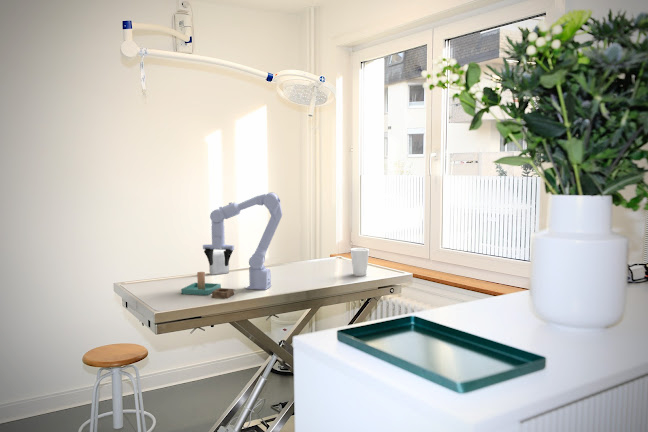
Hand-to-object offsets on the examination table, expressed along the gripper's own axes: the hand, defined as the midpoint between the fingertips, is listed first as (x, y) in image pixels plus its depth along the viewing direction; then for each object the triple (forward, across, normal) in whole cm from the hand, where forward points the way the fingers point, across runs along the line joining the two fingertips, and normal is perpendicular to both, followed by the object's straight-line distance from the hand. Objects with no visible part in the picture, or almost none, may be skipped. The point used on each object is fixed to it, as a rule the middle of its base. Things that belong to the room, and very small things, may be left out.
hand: (218, 265), depth 251 cm
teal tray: (+10, +5, +8) cm, 14 cm away
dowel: (+10, +5, +8) cm, 14 cm away
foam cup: (+11, -58, -42) cm, 72 cm away
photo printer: (+11, +13, -29) cm, 34 cm away
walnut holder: (+10, -8, +14) cm, 19 cm away
